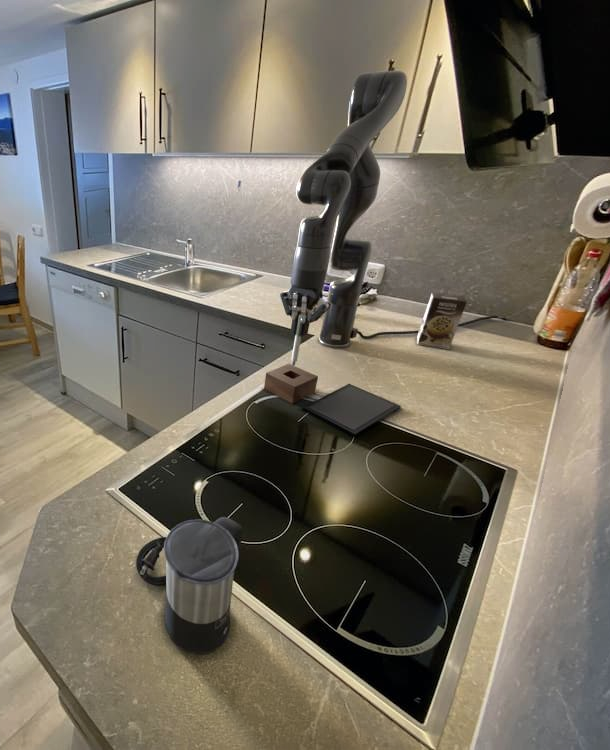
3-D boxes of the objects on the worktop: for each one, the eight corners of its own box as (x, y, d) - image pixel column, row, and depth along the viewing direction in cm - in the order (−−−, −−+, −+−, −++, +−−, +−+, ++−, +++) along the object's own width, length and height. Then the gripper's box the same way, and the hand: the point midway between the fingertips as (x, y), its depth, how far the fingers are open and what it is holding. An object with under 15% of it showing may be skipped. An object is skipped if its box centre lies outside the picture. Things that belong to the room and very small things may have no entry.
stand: (286, 379, 118) (288, 363, 115) (314, 392, 111) (318, 376, 108) (263, 388, 113) (265, 372, 111) (292, 403, 106) (295, 386, 104)
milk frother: (221, 668, 52) (231, 594, 45) (109, 623, 57) (102, 550, 50) (242, 573, 64) (252, 503, 57) (147, 543, 69) (145, 475, 62)
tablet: (348, 386, 114) (349, 383, 113) (400, 408, 103) (401, 405, 103) (302, 409, 104) (302, 406, 103) (354, 437, 93) (355, 433, 93)
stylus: (293, 363, 109) (301, 314, 103) (297, 365, 108) (305, 316, 102) (289, 364, 108) (297, 315, 102) (293, 366, 107) (302, 317, 101)
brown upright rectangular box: (417, 344, 137) (432, 297, 129) (416, 337, 142) (431, 291, 134) (449, 349, 133) (467, 301, 125) (448, 342, 138) (464, 295, 130)
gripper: (346, 268, 93) (331, 339, 101) (296, 257, 103) (286, 323, 111) (326, 274, 89) (312, 347, 97) (276, 262, 99) (267, 329, 107)
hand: (298, 334), depth 104 cm, fingers closed on stylus, 1 cm apart
